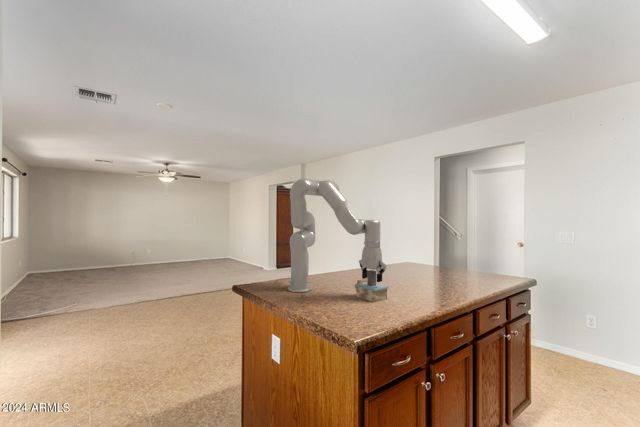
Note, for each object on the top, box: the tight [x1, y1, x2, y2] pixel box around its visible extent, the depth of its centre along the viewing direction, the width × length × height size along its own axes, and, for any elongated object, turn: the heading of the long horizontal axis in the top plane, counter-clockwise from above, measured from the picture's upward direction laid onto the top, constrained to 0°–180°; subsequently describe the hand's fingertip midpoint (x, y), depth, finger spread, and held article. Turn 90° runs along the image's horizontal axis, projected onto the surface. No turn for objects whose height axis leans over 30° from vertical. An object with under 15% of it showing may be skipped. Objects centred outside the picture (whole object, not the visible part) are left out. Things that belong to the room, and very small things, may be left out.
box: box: [355, 286, 388, 303], centre depth 157 cm, size 12×9×6 cm
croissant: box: [356, 276, 368, 284], centre depth 175 cm, size 21×10×8 cm, turn 22°
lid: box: [354, 269, 390, 291], centre depth 157 cm, size 13×10×8 cm
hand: (371, 279), depth 157 cm, fingers open, 9 cm apart
